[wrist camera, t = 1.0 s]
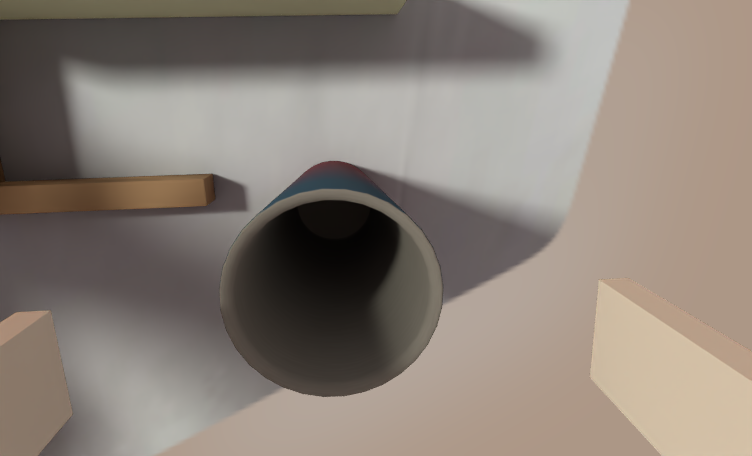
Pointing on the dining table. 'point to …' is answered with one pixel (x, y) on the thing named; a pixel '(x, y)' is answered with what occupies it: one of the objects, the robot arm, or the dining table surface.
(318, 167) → the cup
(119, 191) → the bracket
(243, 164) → the dining table surface
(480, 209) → the dining table surface
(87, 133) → the dining table surface
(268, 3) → the wall board
